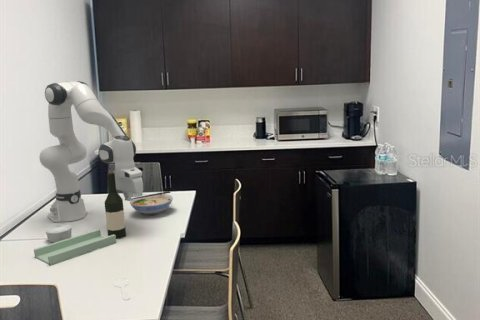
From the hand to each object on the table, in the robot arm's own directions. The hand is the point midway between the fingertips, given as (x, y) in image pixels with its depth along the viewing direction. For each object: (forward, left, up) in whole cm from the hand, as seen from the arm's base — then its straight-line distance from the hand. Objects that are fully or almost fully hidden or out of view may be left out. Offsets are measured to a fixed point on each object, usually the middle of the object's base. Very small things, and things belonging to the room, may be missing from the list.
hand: (128, 200), depth 219 cm
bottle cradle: (0, -28, -15) cm, 32 cm away
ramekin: (-19, -26, -15) cm, 35 cm away
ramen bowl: (-16, +24, -15) cm, 33 cm away
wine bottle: (0, -8, -15) cm, 17 cm away
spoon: (+49, -37, -16) cm, 63 cm away
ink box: (-54, +40, -15) cm, 69 cm away
